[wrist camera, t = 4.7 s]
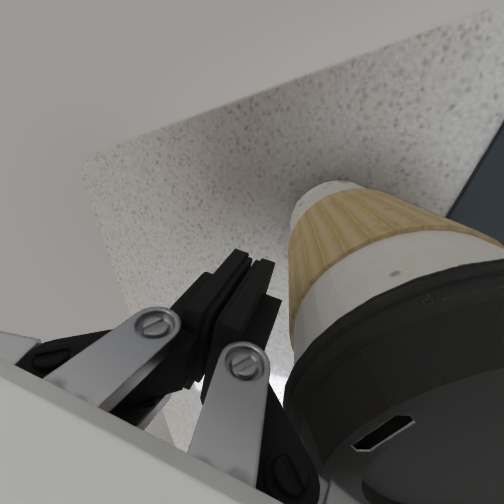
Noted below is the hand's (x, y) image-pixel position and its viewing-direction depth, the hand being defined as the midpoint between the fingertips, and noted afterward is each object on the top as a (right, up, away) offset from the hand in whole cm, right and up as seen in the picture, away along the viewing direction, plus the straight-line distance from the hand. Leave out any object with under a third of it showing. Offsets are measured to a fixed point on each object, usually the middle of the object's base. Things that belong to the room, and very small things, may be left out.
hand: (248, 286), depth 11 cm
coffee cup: (+6, +4, +9) cm, 11 cm away
